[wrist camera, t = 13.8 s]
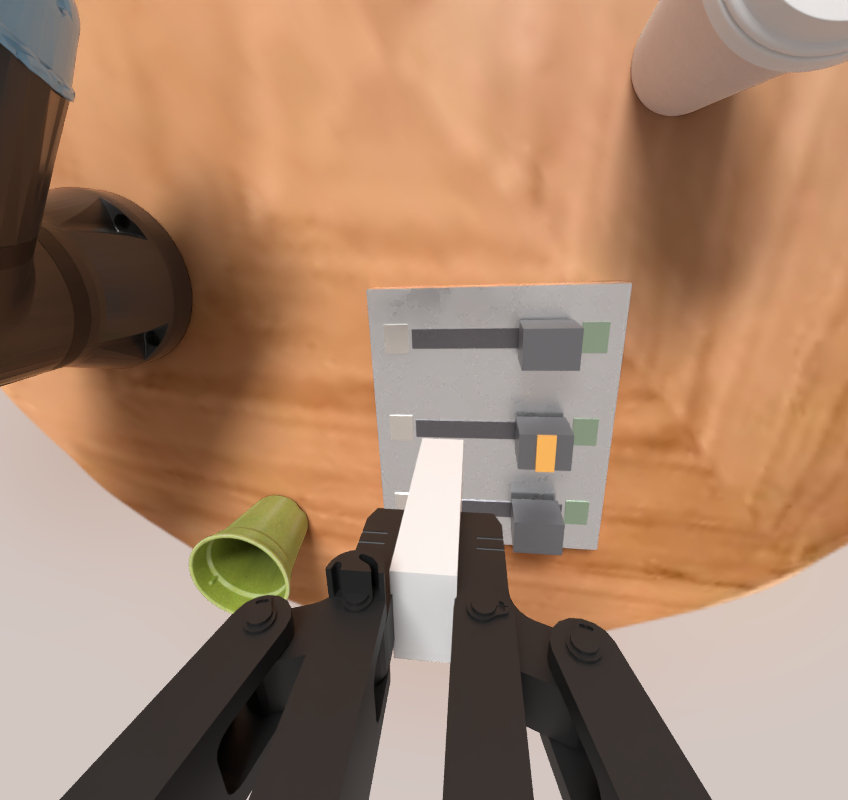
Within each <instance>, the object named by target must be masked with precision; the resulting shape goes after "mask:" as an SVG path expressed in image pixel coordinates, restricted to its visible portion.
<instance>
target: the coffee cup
mask: <svg viewBox="0 0 848 800" xmlns="http://www.w3.org/2000/svg"><path fill="white" fill-rule="evenodd" d="M846 61H848V0H659V2H658V4H657V5H656V7H655V9H654V11H653V13H652V14H651V16H650V18H649V20H648V22H647V23H646V25H645V27H644V29H643V31H642V33H641V34H640V36H639V39H638V41H637V43H636V46H635V49H634V53H633V57H632V64H631V76H632V83H633V87H634V90H635V92H636V94H637V96H638V98H639V99H640V101H641V102H642V103H643V104H644V105H645V106H646V107H647V108H648V109H650V110H651V111H653V112H655V113H657V114H660V115H665V116H680V115H684V114H688V113H691V112H693V111H696V110H698V109H701V108H703V107H705V106H708V105H710V104H713V103H715V102H717V101H720V100H722V99H724V98H727V97H729V96H732V95H734V94H736V93H739V92H741V91H744V90H746V89H748V88H751V87H753V86H756V85H758V84H760V83H763V82H765V81H768V80H770V79H772V78H775V77H777V76H780V75H782V74H785V73H787V72H807V71H815V70H820V69H824V68H828V67H832V66H835V65H838V64H841V63H843V62H846Z"/></svg>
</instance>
